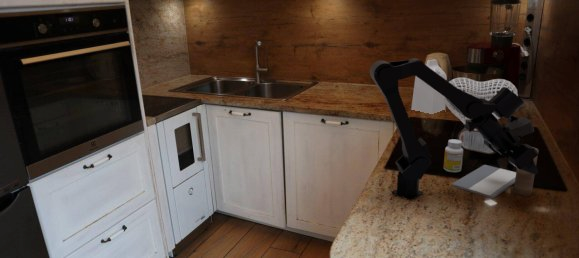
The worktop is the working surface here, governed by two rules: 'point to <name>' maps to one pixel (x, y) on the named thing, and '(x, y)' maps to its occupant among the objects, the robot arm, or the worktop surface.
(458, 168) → the supplement bottle
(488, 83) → the heart
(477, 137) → the tin
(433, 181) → the worktop surface
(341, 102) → the worktop surface
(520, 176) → the beige tapered cylinder
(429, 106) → the milk
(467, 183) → the slate-grey panel
